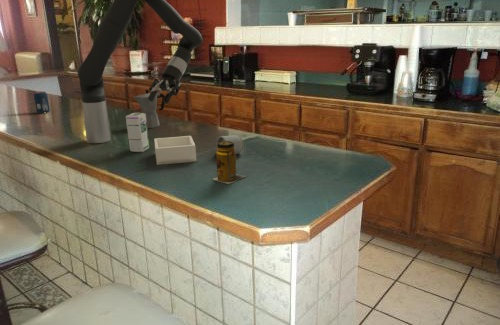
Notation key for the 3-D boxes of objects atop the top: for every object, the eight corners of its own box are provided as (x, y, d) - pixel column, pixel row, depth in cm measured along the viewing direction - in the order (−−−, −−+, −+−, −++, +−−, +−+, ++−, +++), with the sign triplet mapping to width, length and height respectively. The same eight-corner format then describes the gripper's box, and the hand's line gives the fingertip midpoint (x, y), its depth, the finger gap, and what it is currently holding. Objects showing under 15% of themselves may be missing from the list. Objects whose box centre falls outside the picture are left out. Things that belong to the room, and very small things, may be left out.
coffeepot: (138, 129, 190) (134, 91, 184) (135, 125, 198) (131, 89, 192) (170, 126, 196) (167, 89, 190) (166, 122, 204) (163, 87, 198)
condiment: (211, 179, 126) (209, 143, 122) (229, 172, 132) (228, 137, 128) (228, 184, 121) (227, 147, 118) (246, 177, 128) (245, 141, 124)
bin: (156, 164, 140) (155, 148, 138) (155, 153, 153) (154, 138, 151) (196, 161, 143) (195, 145, 141) (191, 150, 156) (191, 135, 154)
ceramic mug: (245, 154, 150) (244, 135, 148) (226, 159, 145) (226, 138, 143) (229, 149, 158) (228, 130, 156) (212, 152, 154) (211, 133, 151)
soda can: (42, 111, 235) (38, 91, 231) (52, 111, 234) (49, 91, 230) (34, 113, 228) (30, 93, 225) (45, 114, 228) (41, 93, 224)
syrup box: (143, 152, 155) (139, 115, 150) (129, 151, 156) (125, 115, 151) (149, 148, 160) (146, 112, 155) (136, 147, 161) (132, 112, 156)
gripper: (157, 63, 167) (139, 94, 162) (182, 64, 160) (164, 97, 155) (167, 75, 173) (150, 105, 168) (192, 76, 166) (175, 108, 160)
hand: (157, 101), depth 161 cm, fingers open, 8 cm apart
